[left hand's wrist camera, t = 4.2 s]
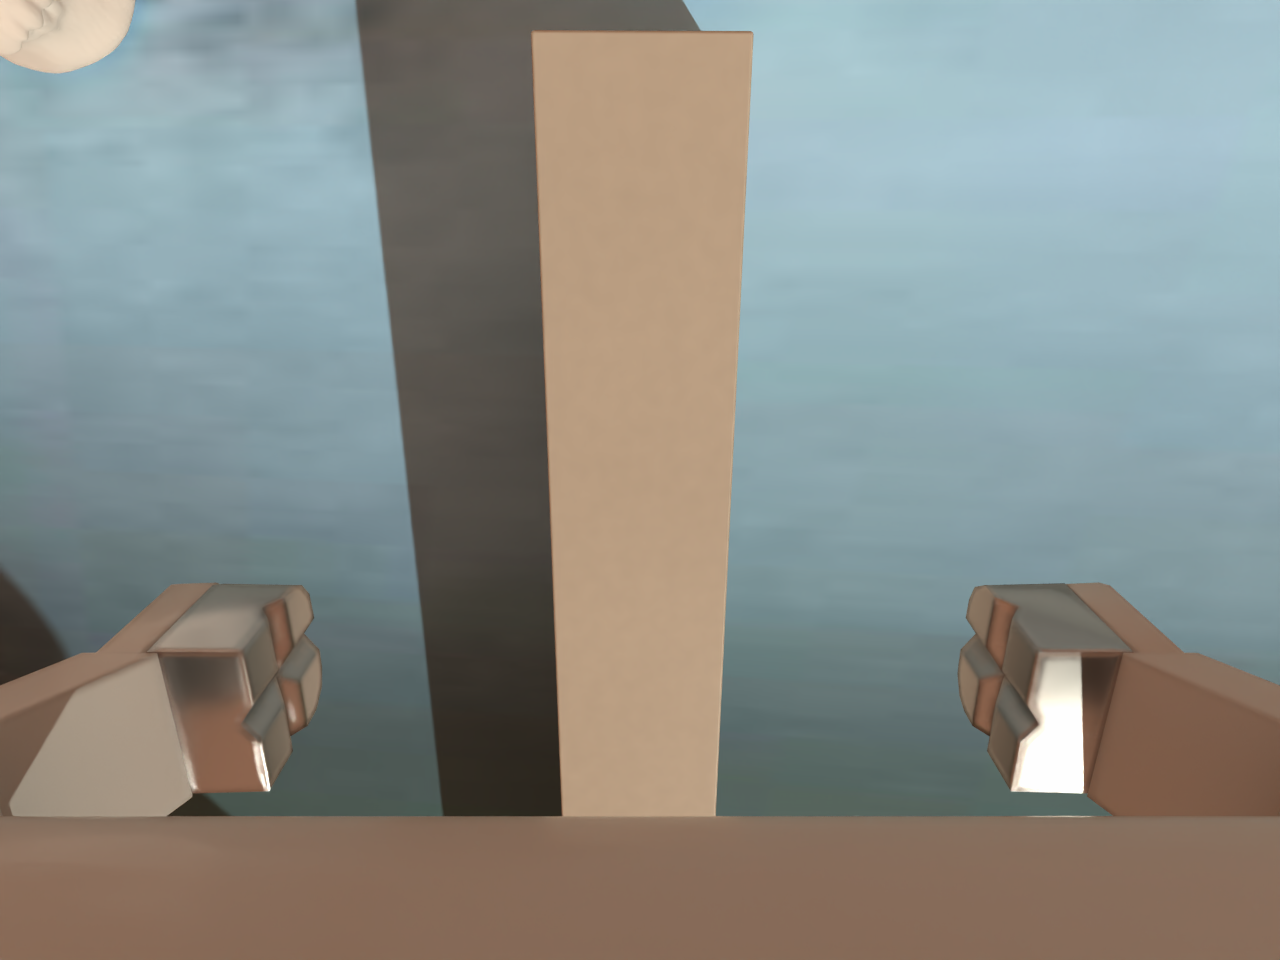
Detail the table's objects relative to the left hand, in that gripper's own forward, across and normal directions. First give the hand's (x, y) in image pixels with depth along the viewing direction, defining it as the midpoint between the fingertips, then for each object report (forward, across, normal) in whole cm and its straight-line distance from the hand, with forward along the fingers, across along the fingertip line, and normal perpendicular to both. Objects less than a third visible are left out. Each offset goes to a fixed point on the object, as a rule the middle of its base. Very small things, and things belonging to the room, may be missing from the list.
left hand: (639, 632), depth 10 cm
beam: (+18, 0, +25) cm, 31 cm away
